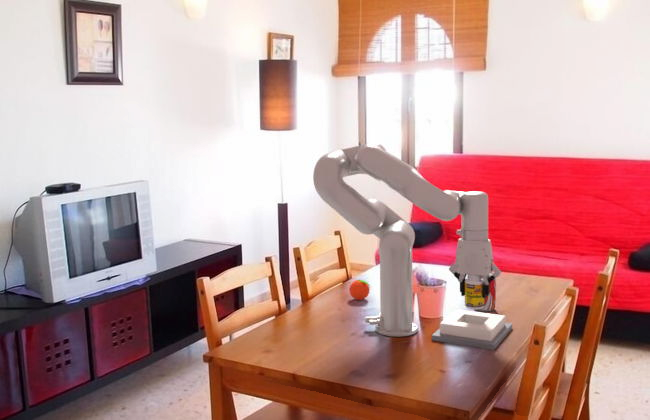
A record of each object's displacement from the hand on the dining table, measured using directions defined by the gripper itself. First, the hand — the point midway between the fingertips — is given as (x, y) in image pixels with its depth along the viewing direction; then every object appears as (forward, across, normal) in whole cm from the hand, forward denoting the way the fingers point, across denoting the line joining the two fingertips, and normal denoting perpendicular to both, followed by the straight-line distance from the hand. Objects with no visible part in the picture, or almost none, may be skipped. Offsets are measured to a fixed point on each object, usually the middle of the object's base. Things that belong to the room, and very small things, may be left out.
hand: (474, 295), depth 203 cm
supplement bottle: (+4, 0, 0) cm, 4 cm away
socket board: (+12, 0, 0) cm, 12 cm away
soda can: (+12, -4, +25) cm, 28 cm away
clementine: (+11, -45, +17) cm, 50 cm away
